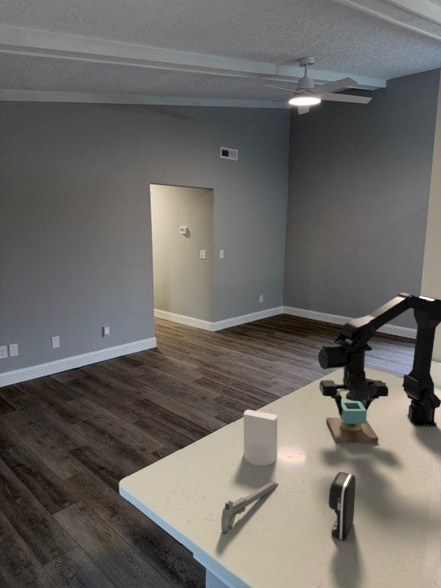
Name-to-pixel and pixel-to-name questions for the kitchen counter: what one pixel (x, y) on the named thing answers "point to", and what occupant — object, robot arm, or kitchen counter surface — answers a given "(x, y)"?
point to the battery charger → (342, 503)
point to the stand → (351, 431)
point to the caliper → (242, 505)
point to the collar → (353, 412)
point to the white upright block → (260, 437)
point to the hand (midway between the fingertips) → (351, 415)
